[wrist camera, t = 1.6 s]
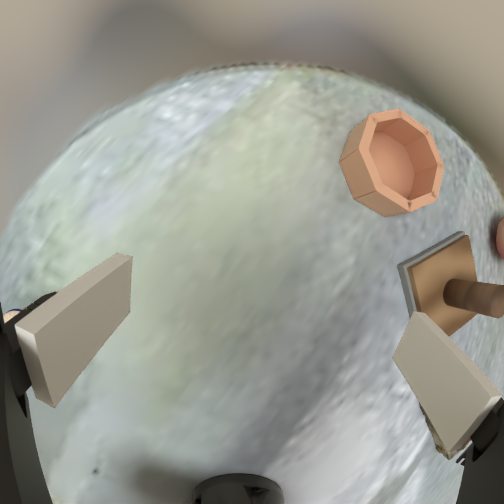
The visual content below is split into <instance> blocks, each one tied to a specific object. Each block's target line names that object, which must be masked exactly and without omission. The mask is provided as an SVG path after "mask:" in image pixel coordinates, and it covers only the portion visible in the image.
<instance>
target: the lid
mask: <svg viewBox="0 0 504 504" xmlns="http://www.w3.org/2000/svg"><path fill="white" fill-rule="evenodd" d="M407 271H408V275H409V279H410V283H411V287H412V291H413V296H414V300H415V305H416V310H417V312H422V313H425V314H426V315H427V316H428V317H429V318H431V319H432V320H433V321H434V322H435V323H436V324H437V325H438V326H439V327H440V328H441V329H442V330H443V331H444V332H445V333H446V334H447V335H448V336H450V335H452V334H453V333H454V332H456V331H457V330H458V329H459V328H461V327H462V326H463V325H464V324H466V323H467V322H468V321H469V320H470V319H472V318H473V317H474V316H475V315H476V314H478V313H479V314H483V315H487V316H491V317H495V318H500V317H502V316H503V314H504V285H497V284H489V283H482V282H477V277H476V271H475V265H474V260H473V255H472V250H471V245H470V241H469V236H468V235H463V236H461V237H460V238H458V239H457V240H455V241H453V242H452V243H450V244H448V245H447V246H445V247H443V248H441V249H440V250H438V251H436V252H435V253H433V254H431V255H429V256H428V257H426V258H424V259H422V260H421V261H419V262H417V263H415V264H413V265H411V266H410V267H408V268H407Z"/></svg>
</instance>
